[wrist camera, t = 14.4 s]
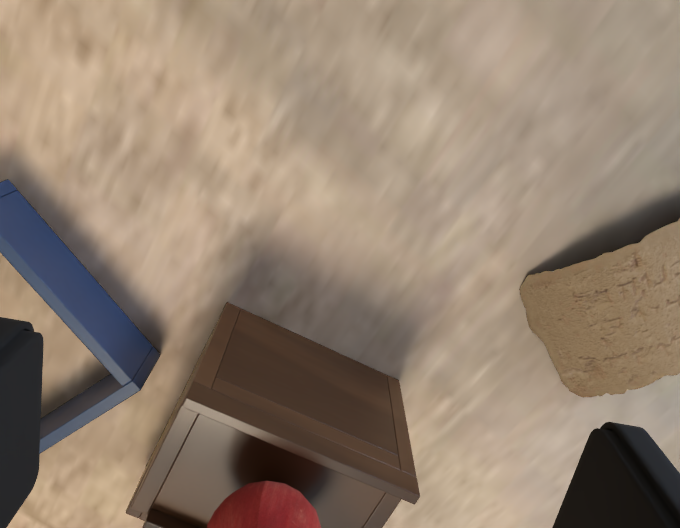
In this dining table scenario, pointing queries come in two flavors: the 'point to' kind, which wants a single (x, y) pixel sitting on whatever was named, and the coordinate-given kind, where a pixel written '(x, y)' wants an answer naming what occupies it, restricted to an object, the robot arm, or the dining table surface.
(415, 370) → the dining table surface
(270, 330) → the step shelf
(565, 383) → the clay tablet
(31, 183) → the dining table surface
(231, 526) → the onion
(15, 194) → the crate
